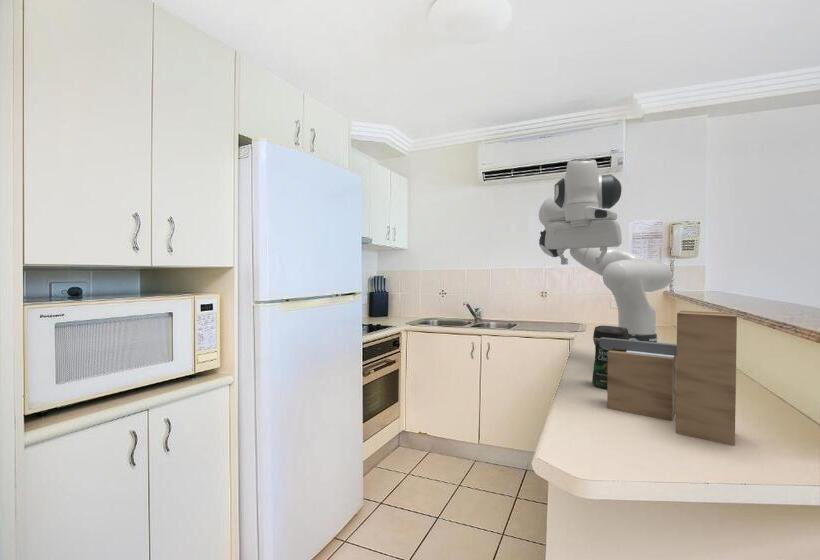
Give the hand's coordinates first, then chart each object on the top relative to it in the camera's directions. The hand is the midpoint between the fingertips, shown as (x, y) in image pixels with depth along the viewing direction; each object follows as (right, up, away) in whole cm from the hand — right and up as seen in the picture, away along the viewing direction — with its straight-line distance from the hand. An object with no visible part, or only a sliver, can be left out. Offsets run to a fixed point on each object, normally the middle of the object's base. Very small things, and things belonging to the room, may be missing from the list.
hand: (581, 264), depth 114 cm
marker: (+11, -23, -14) cm, 28 cm away
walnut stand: (+12, -38, -19) cm, 44 cm away
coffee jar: (+12, -37, +8) cm, 40 cm away
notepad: (+11, -23, -14) cm, 29 cm away
